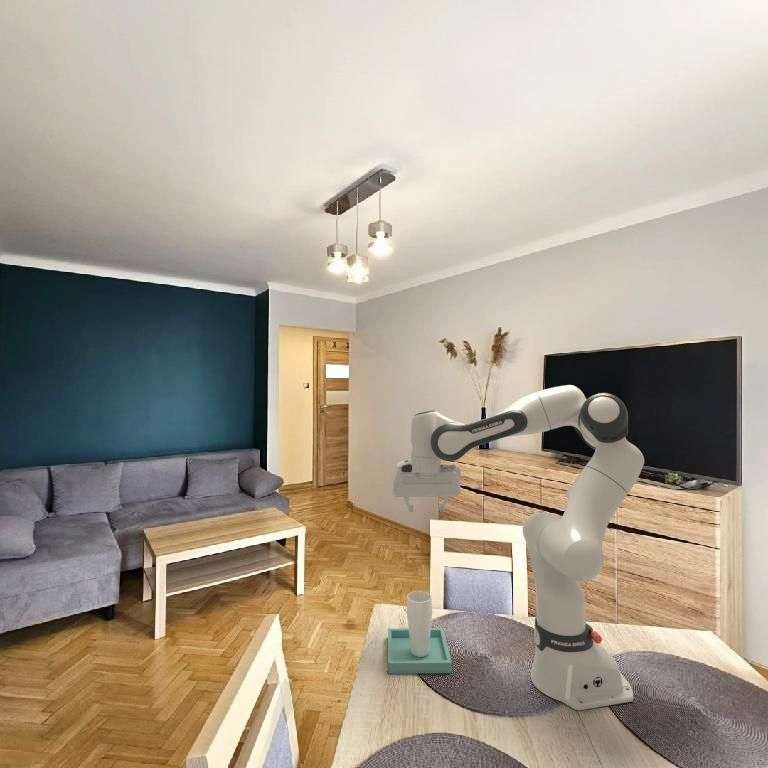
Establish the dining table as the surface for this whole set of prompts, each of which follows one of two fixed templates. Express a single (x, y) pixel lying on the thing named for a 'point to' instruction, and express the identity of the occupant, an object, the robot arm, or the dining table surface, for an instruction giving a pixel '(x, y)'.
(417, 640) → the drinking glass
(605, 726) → the dining table surface
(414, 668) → the tray
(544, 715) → the dining table surface
